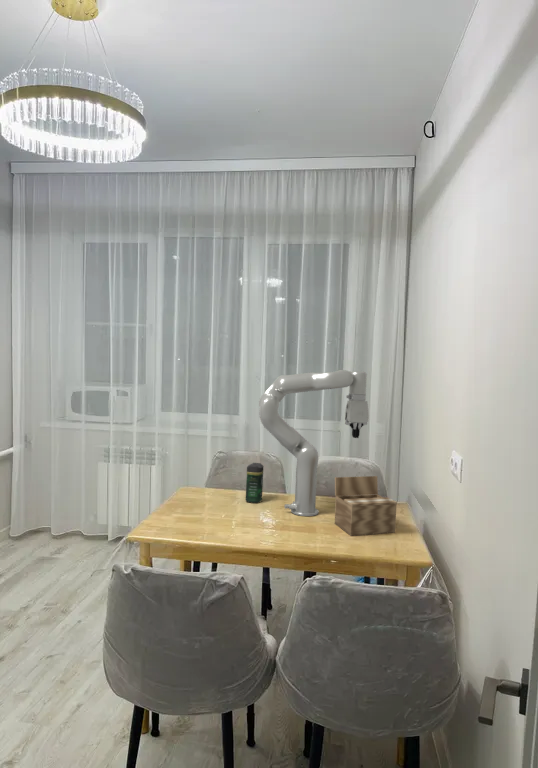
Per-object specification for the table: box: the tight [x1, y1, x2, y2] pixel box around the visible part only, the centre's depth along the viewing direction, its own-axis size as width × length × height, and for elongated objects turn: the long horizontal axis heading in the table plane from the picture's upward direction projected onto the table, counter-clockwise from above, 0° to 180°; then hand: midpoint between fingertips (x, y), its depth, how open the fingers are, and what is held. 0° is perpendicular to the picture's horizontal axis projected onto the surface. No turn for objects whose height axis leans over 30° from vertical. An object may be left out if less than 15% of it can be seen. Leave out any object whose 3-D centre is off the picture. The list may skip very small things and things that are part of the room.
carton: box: [334, 494, 398, 537], centre depth 219 cm, size 20×16×13 cm
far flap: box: [334, 475, 379, 497], centre depth 230 cm, size 20×8×6 cm
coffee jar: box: [245, 462, 264, 504], centre depth 256 cm, size 10×8×19 cm
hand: (355, 437), depth 241 cm, fingers closed
